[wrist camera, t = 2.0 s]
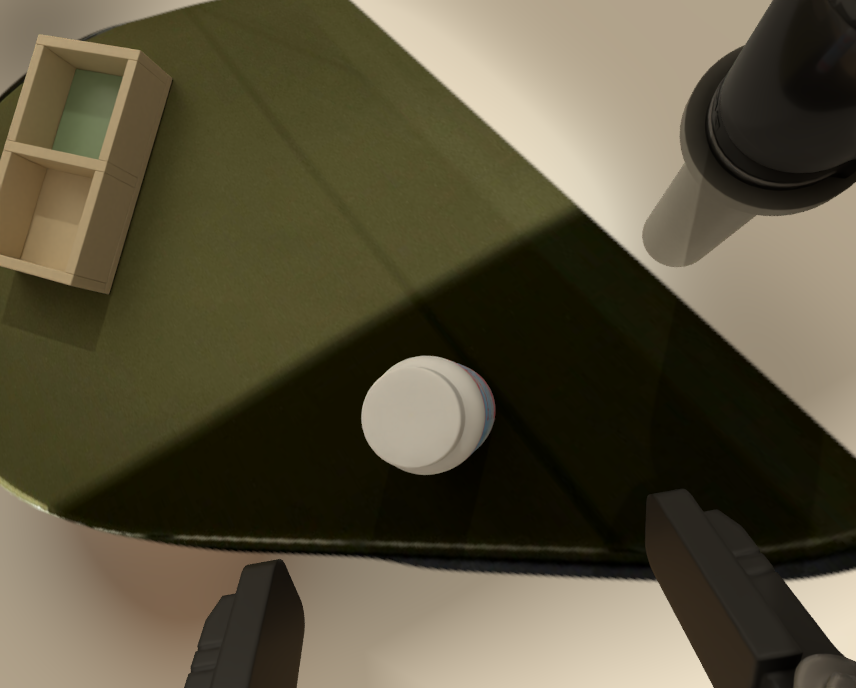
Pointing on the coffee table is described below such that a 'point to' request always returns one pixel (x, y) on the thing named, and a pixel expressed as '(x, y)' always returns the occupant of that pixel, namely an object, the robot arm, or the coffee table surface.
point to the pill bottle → (427, 414)
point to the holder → (77, 159)
